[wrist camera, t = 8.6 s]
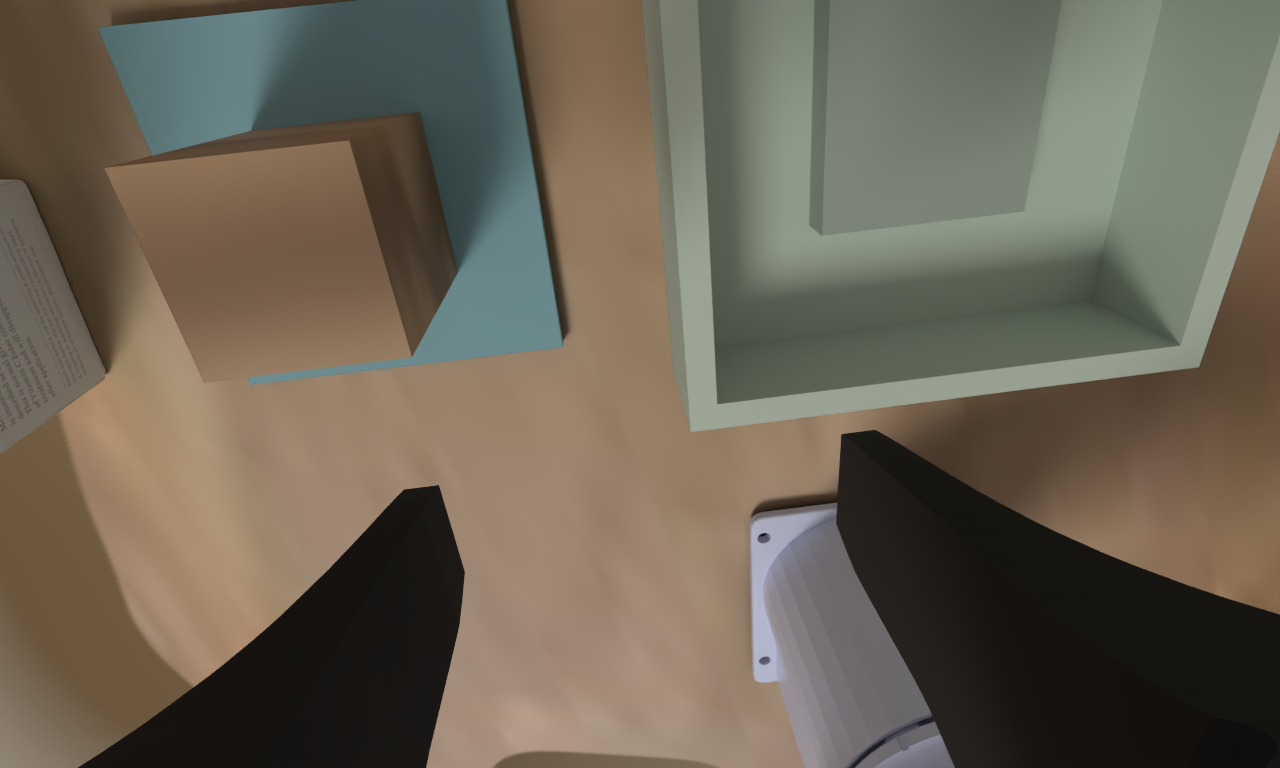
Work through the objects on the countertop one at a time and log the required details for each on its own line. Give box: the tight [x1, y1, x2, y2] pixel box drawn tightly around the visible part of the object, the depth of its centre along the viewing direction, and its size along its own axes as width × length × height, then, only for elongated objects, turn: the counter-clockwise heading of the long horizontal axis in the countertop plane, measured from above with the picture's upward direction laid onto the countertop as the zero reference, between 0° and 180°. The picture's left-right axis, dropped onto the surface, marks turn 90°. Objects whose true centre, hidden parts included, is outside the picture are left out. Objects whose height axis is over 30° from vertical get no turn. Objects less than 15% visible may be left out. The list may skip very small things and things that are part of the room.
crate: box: [642, 0, 1280, 432], centre depth 17 cm, size 15×15×4 cm
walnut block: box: [104, 112, 458, 383], centre depth 16 cm, size 4×4×6 cm
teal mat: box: [97, 0, 563, 385], centre depth 19 cm, size 10×10×1 cm
